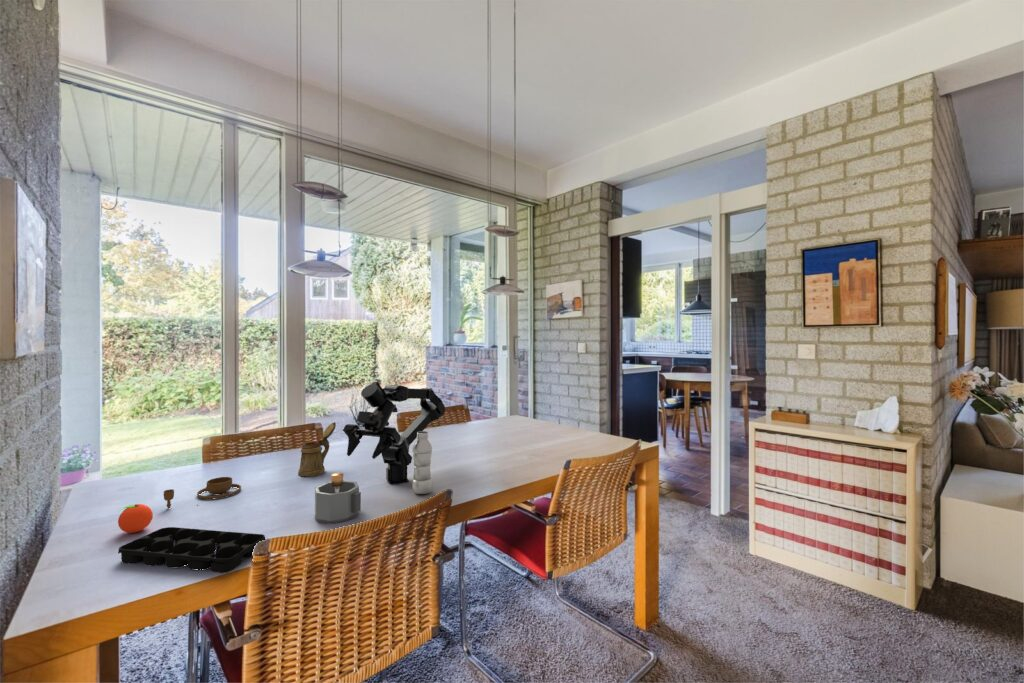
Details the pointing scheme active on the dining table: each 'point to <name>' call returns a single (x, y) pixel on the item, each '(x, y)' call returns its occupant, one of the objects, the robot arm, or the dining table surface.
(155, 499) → the dining table surface
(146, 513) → the clementine
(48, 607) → the dining table surface
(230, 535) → the egg carton
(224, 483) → the place setting
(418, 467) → the plastic bottle
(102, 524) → the dining table surface
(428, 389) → the robot arm
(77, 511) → the dining table surface
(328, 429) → the wooden mug
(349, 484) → the press jug
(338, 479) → the plunger
